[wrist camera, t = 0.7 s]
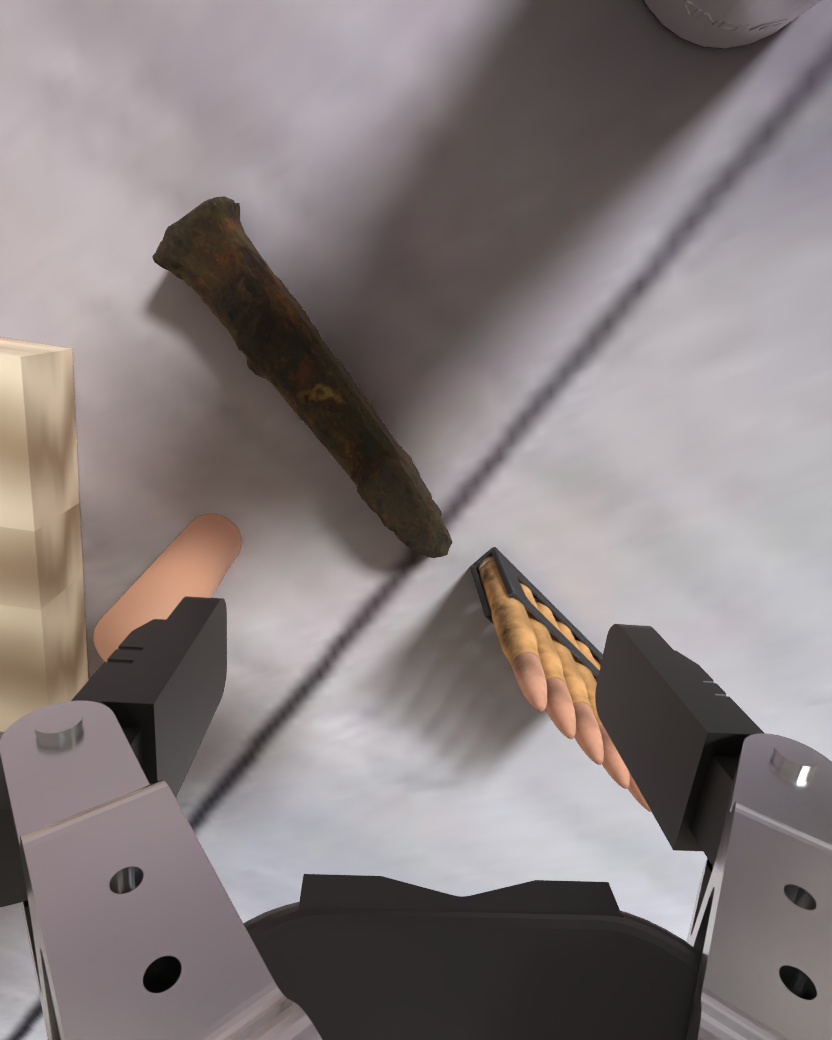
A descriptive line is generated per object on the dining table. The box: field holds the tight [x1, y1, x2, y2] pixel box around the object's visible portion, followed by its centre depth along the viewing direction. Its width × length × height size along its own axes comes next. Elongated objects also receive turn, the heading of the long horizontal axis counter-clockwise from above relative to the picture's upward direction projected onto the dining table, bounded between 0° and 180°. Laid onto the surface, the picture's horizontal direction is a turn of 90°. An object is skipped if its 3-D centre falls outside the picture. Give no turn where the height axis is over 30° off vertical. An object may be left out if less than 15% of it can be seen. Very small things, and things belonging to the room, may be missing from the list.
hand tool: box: [152, 197, 452, 558], centre depth 27 cm, size 19×4×5 cm, turn 34°
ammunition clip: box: [471, 547, 652, 812], centre depth 28 cm, size 11×2×12 cm, turn 44°
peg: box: [94, 514, 242, 662], centre depth 26 cm, size 3×3×10 cm
